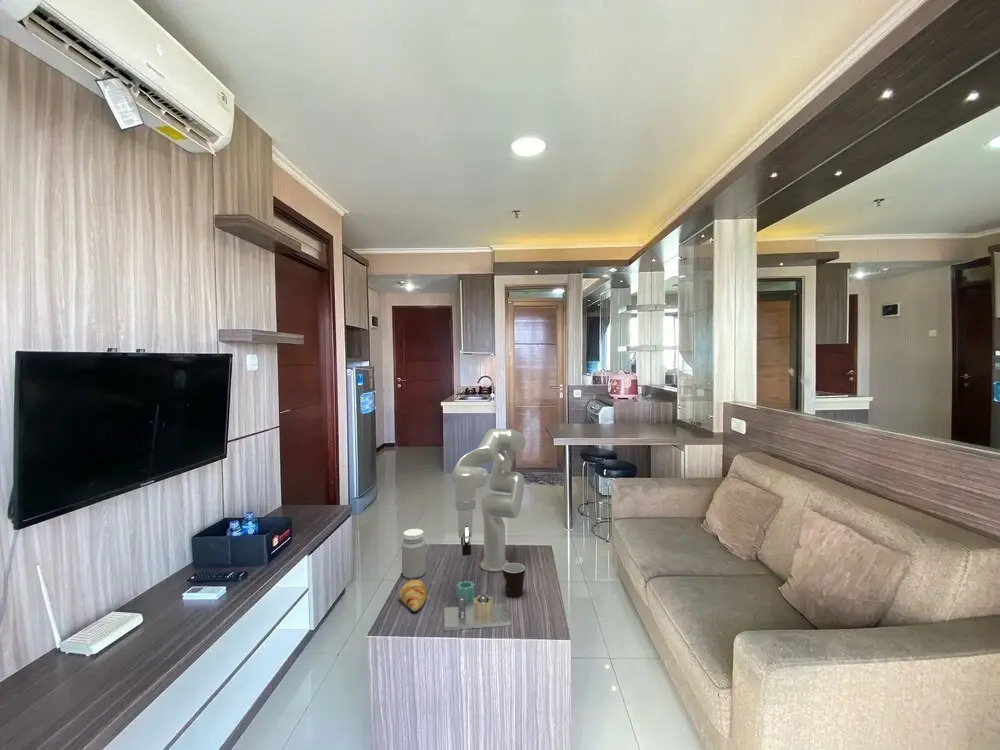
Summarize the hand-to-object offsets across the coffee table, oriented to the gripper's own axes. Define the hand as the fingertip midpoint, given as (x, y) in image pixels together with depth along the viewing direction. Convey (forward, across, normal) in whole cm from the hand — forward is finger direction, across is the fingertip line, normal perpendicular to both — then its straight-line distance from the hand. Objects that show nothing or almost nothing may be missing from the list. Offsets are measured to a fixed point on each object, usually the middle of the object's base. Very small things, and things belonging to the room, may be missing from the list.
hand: (465, 549), depth 161 cm
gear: (+18, 0, 0) cm, 18 cm away
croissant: (+19, -2, -20) cm, 27 cm away
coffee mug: (+18, -2, +19) cm, 26 cm away
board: (+18, +14, +3) cm, 23 cm away
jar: (+18, -23, -21) cm, 36 cm away
